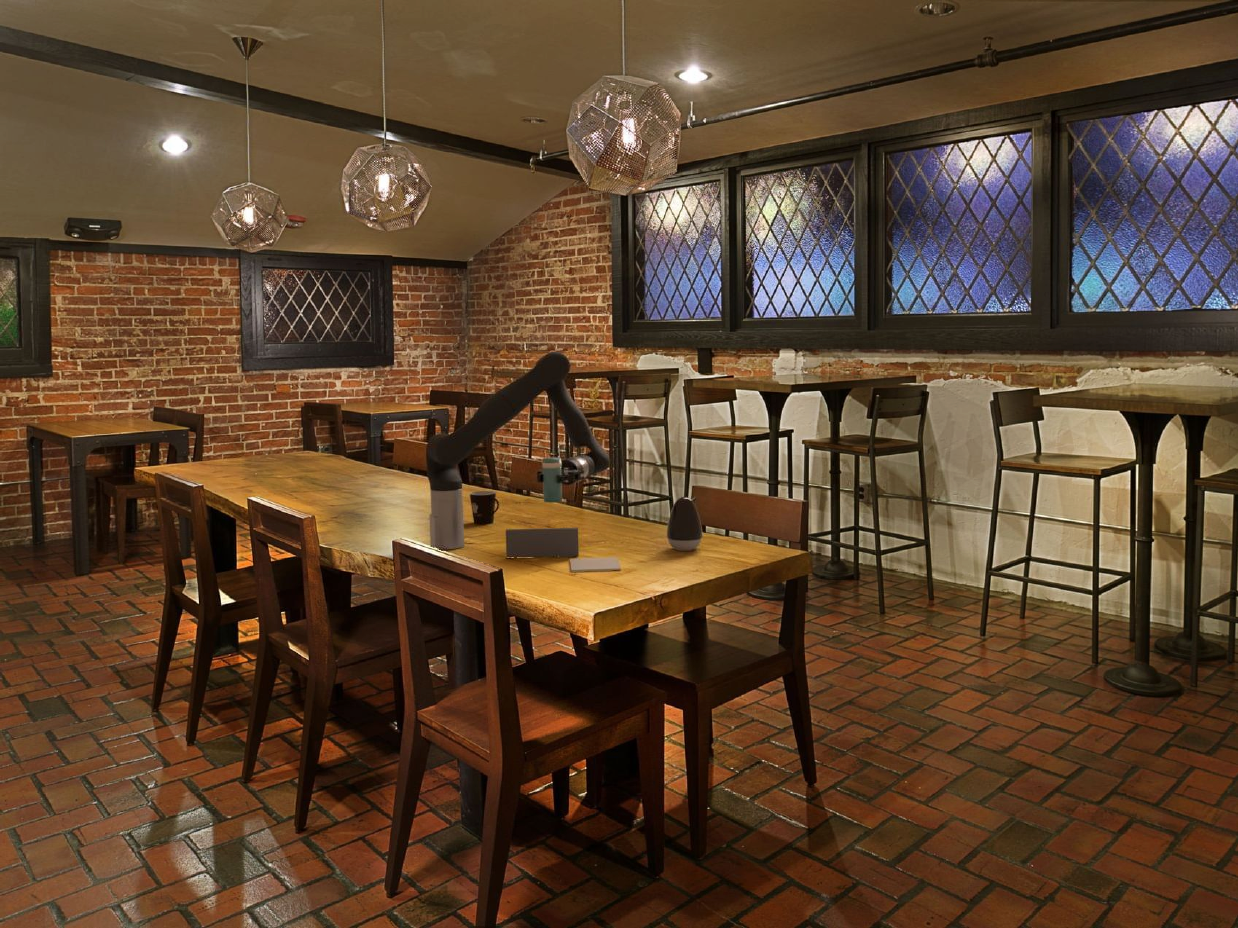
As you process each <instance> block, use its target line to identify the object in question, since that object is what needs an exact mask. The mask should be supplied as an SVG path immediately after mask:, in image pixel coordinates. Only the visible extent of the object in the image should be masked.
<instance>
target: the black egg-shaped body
mask: <svg viewBox="0 0 1238 928" xmlns="http://www.w3.org/2000/svg"><path fill="white" fill-rule="evenodd" d="M697 500H698V499H697V498H696V496H695V497H692V498H689V497H688V496H681V497H679V498H678V499H676V501H675V502H674V504H673V506H672V508H671V510H670V515H669V517H668V522H667V526H666V527H667V529H666V538H667V540H668V543H669V545H670V546H671V547H672V548H673V549H674V550H676V551H679V552H689V551H693V550H695V549H697V548H698V547H699V546H700V544H701V541H702V538H703V528H702V523H701V517H700V514H699V511H698V509H697V506H696V504H695V503H696V501H697Z"/></svg>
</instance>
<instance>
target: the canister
mask: <svg viewBox="0 0 1238 928" xmlns="http://www.w3.org/2000/svg"><path fill="white" fill-rule="evenodd" d="M561 461H562V458H561V457H559V456H558V457H556V456H553V457H543V458H542V462H541V463H542V464H541V465H542V466H541V467H542V469H543V482H542V487H543V488H542V489H543V491H542V493H543V494H542V495H543V502H544V503H550V504H551V503H561V502H563V484H562V483H557V475H560V474H562V470H561V467H562V462H561Z"/></svg>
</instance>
